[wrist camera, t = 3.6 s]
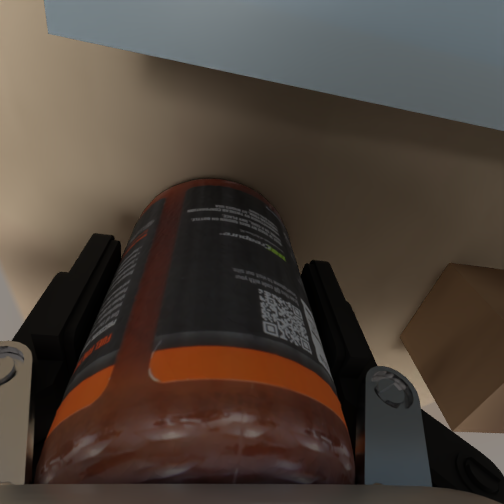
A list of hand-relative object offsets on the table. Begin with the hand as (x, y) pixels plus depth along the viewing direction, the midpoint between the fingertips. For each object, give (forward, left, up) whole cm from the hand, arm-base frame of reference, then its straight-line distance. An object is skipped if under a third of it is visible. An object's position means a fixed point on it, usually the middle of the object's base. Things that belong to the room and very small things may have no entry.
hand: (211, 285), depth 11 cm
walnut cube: (-13, +2, -3) cm, 13 cm away
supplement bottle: (0, 0, -3) cm, 3 cm away
